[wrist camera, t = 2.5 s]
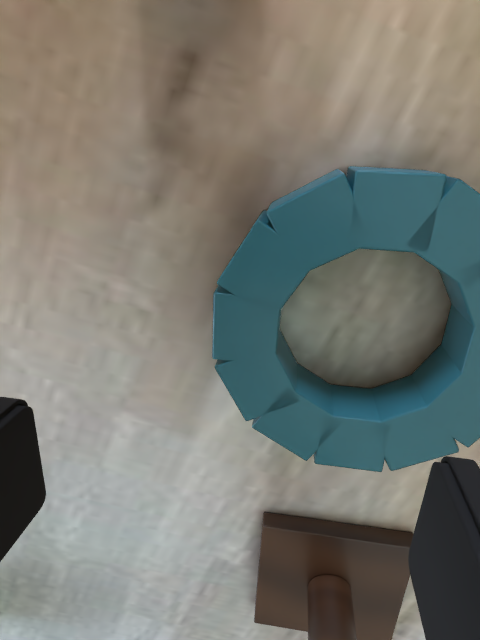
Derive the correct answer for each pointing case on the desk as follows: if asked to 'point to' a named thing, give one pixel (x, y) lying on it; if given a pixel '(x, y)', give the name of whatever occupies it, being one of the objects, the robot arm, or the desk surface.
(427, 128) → the desk surface
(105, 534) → the desk surface
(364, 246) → the ring
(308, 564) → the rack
